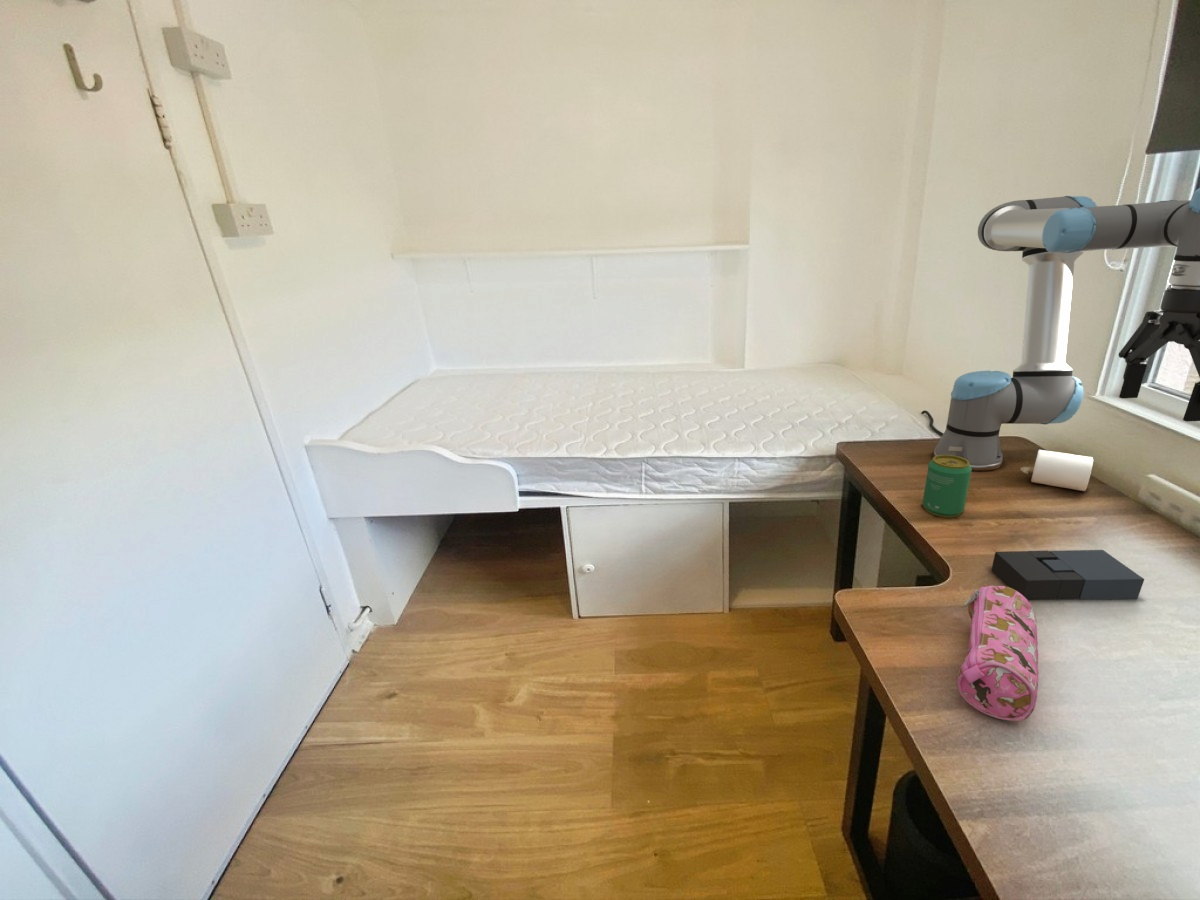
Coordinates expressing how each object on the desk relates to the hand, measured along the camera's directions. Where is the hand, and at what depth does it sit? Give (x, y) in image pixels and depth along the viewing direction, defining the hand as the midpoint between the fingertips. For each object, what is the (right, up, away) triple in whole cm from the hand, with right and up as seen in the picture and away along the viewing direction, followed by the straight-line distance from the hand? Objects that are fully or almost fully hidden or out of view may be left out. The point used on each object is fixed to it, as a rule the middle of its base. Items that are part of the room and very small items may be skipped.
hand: (1158, 408), depth 99 cm
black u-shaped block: (-24, -31, -2) cm, 40 cm away
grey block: (-16, -31, -2) cm, 35 cm away
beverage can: (-24, -21, +25) cm, 40 cm away
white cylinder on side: (+9, -15, +32) cm, 37 cm away
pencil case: (-44, -40, -19) cm, 62 cm away
